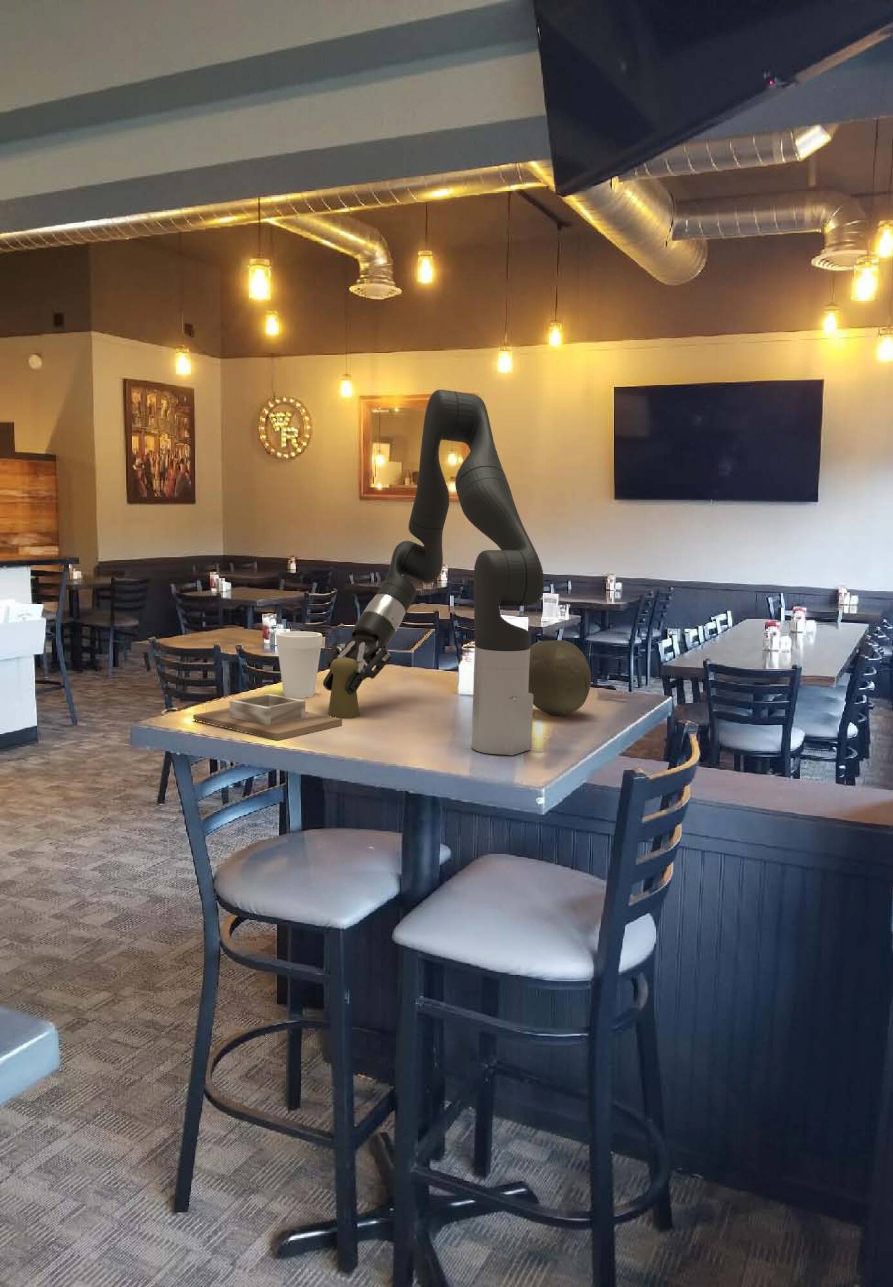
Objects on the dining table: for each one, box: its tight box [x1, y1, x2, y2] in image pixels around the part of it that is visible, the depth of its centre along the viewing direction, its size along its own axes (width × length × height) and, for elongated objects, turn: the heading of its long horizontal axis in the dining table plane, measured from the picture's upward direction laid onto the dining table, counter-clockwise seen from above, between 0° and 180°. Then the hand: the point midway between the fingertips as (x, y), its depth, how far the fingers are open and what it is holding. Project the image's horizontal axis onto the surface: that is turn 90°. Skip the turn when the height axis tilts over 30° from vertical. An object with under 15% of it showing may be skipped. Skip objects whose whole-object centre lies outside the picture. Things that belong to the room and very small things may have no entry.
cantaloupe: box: [528, 639, 592, 717], centre depth 189 cm, size 14×14×15 cm
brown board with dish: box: [192, 693, 343, 741], centre depth 176 cm, size 22×16×4 cm
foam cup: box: [275, 630, 323, 699], centre depth 202 cm, size 10×9×13 cm
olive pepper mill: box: [327, 657, 360, 719], centre depth 184 cm, size 6×6×11 cm
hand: (337, 689), depth 183 cm, fingers closed on olive pepper mill, 5 cm apart
